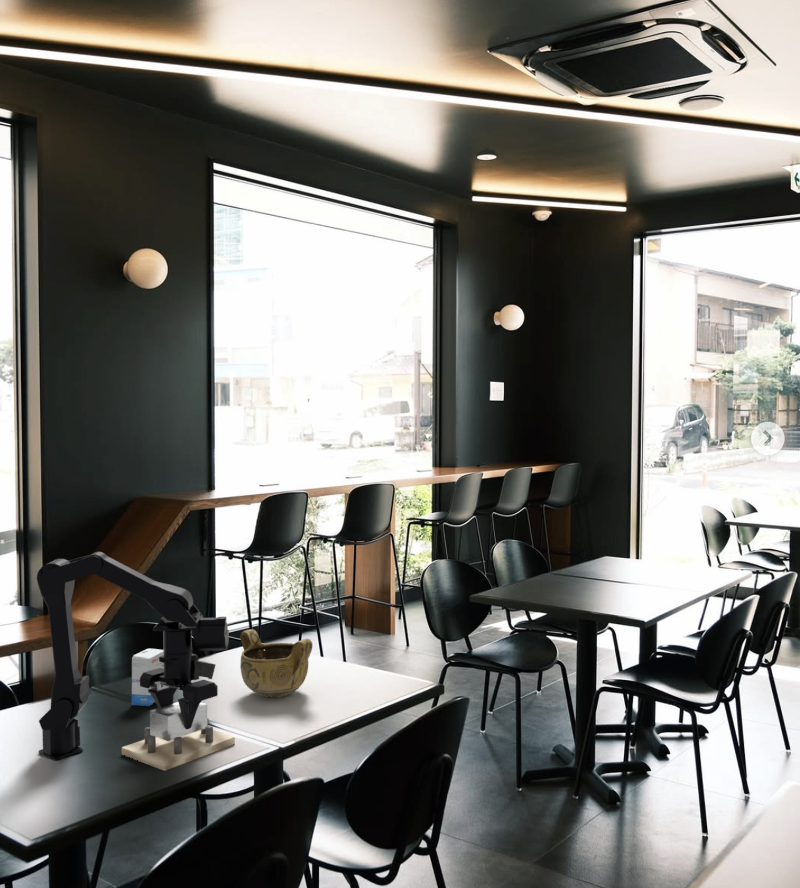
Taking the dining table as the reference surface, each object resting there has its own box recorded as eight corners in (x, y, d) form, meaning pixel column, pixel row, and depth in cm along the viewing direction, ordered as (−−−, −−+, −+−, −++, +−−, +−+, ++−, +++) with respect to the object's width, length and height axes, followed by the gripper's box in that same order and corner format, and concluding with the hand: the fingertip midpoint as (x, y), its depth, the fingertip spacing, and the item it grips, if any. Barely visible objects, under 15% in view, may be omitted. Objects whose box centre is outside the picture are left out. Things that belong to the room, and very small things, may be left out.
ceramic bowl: (331, 693, 223) (330, 633, 222) (283, 712, 209) (282, 648, 209) (267, 678, 236) (267, 622, 236) (218, 694, 223) (217, 634, 222)
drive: (168, 741, 180) (168, 716, 180) (150, 734, 184) (149, 710, 184) (207, 727, 188) (207, 704, 188) (189, 721, 192) (188, 698, 192)
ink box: (150, 706, 214) (149, 657, 213) (131, 705, 215) (130, 656, 214) (166, 695, 222) (165, 648, 222) (148, 694, 223) (147, 647, 223)
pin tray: (164, 770, 175) (164, 748, 175) (121, 754, 183) (121, 732, 183) (234, 744, 189) (234, 722, 189) (192, 730, 198) (191, 709, 197)
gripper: (237, 649, 186) (238, 724, 187) (180, 636, 198) (181, 706, 198) (194, 661, 177) (195, 739, 178) (137, 646, 189) (138, 720, 189)
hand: (178, 725), depth 186 cm, fingers closed on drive, 6 cm apart
